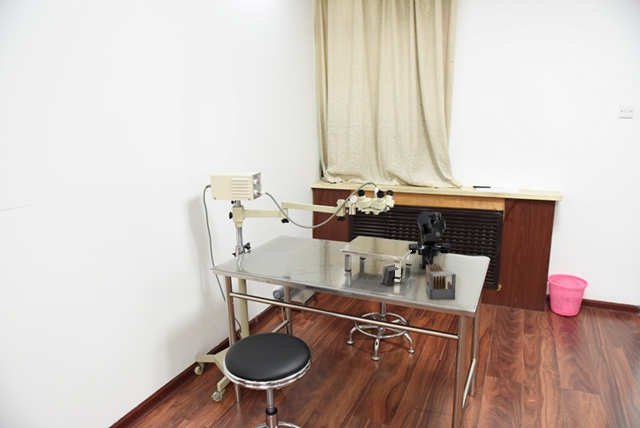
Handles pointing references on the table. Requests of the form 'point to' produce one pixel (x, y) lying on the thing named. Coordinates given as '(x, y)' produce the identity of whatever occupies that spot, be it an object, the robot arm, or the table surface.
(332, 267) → the table surface
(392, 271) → the electrical switch
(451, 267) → the table surface
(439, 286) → the heat-sink block
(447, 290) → the grey open frame
